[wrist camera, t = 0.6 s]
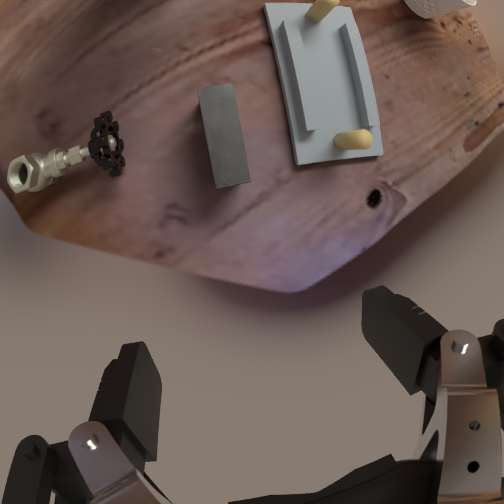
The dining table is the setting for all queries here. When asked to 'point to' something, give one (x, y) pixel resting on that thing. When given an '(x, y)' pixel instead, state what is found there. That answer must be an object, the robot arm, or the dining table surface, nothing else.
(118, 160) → the valve
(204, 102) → the gray rectangular block
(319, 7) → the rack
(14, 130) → the dining table surface
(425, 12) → the white cup
